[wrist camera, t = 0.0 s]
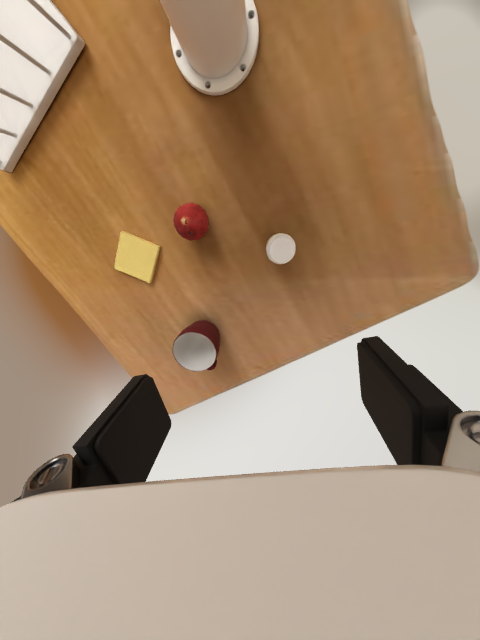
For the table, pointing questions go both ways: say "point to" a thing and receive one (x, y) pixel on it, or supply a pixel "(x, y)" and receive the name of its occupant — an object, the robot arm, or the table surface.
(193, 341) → the mug
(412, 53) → the table surface
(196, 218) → the onion
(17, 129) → the file sorter
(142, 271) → the sticky note pad
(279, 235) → the supplement bottle
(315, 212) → the table surface
